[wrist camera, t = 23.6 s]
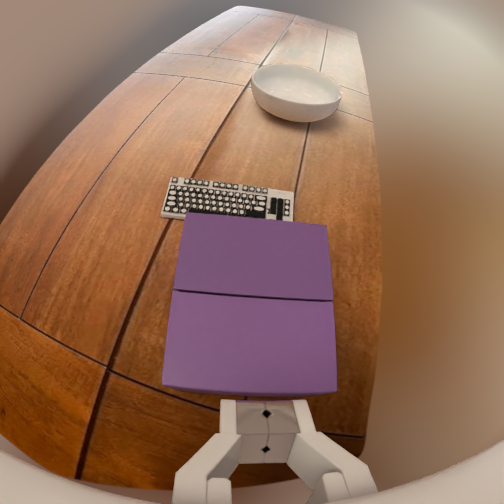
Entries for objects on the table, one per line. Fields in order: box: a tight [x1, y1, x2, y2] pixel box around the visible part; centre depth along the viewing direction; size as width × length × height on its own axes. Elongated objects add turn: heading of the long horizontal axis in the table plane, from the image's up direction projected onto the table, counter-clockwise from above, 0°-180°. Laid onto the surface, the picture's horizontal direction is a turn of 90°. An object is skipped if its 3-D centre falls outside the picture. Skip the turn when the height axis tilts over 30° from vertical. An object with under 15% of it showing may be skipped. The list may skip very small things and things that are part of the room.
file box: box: [163, 212, 334, 397], centre depth 27 cm, size 15×13×10 cm
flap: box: [161, 291, 337, 393], centre depth 21 cm, size 7×13×1 cm, turn 88°
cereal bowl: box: [251, 63, 342, 122], centre depth 50 cm, size 17×17×7 cm
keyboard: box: [161, 177, 294, 222], centre depth 39 cm, size 17×6×2 cm, turn 85°
